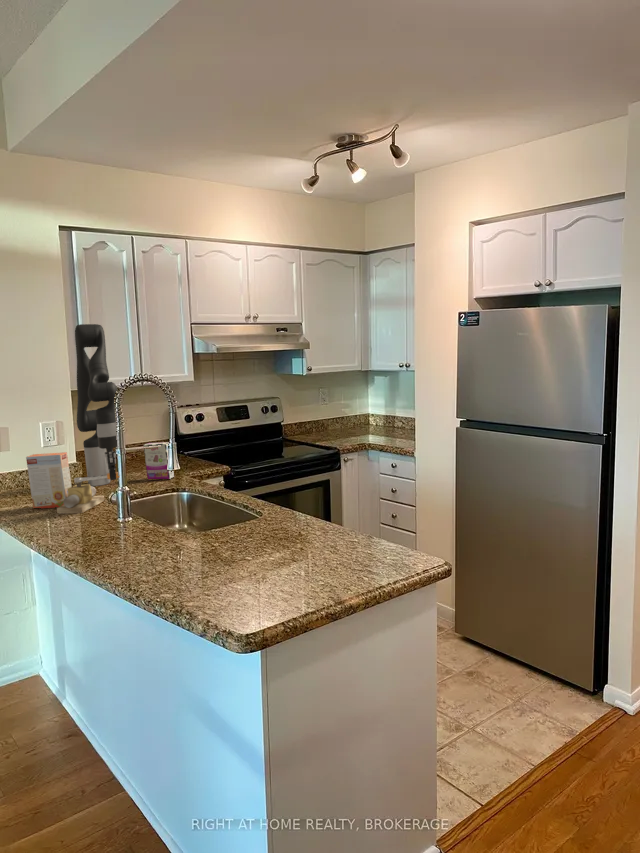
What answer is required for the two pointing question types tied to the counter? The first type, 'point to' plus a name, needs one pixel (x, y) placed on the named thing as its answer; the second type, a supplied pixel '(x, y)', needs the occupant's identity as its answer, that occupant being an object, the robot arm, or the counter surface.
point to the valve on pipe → (80, 499)
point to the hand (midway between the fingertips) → (113, 479)
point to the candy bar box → (157, 461)
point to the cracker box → (48, 479)
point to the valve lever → (93, 478)
